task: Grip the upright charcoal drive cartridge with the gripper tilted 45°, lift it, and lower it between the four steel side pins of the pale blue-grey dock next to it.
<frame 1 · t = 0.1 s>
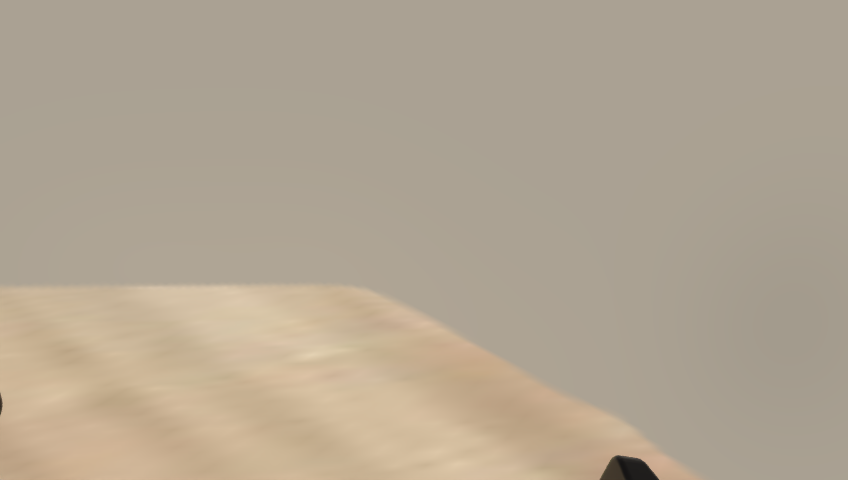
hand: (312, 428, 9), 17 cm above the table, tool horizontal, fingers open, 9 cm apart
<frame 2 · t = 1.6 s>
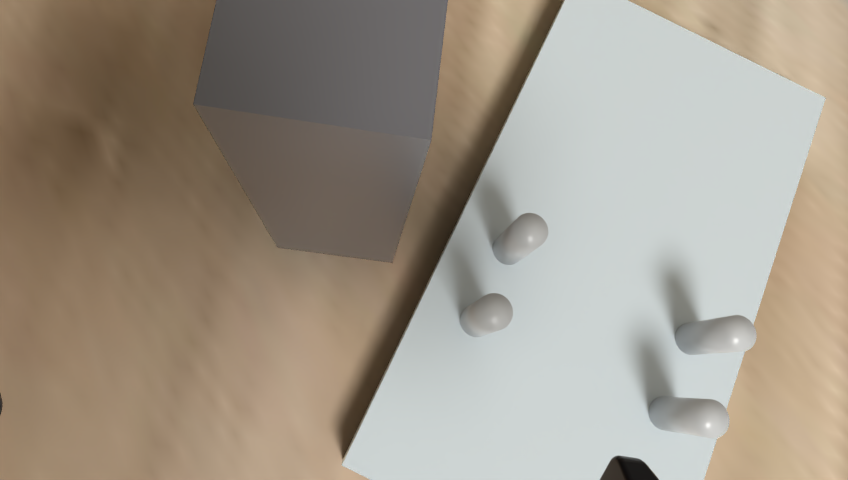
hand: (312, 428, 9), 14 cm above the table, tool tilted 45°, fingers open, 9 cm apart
pin dock: (570, 332, 24), on the table
drive cartridge: (345, 188, 24), on the table
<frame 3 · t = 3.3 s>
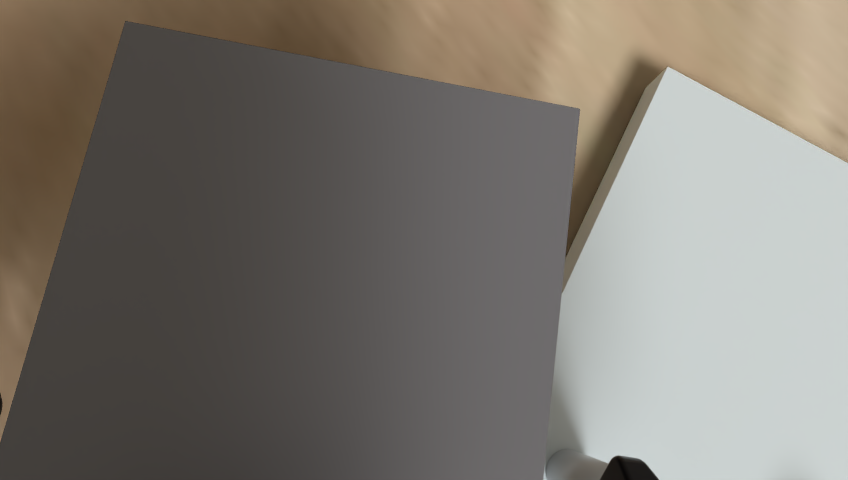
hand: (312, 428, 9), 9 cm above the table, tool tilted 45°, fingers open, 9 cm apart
drive cartridge: (340, 361, 17), on the table
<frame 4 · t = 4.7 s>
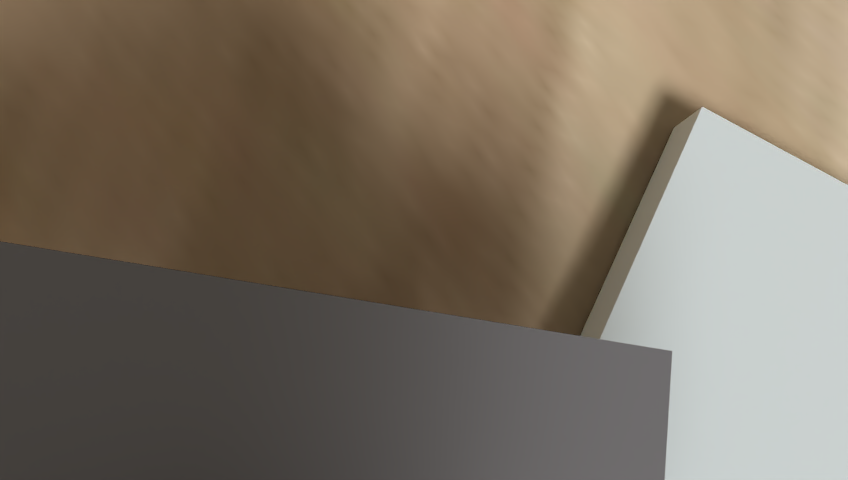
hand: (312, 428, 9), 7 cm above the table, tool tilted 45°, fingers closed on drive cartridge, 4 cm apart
drive cartridge: (321, 457, 15), on the table, touching gripper
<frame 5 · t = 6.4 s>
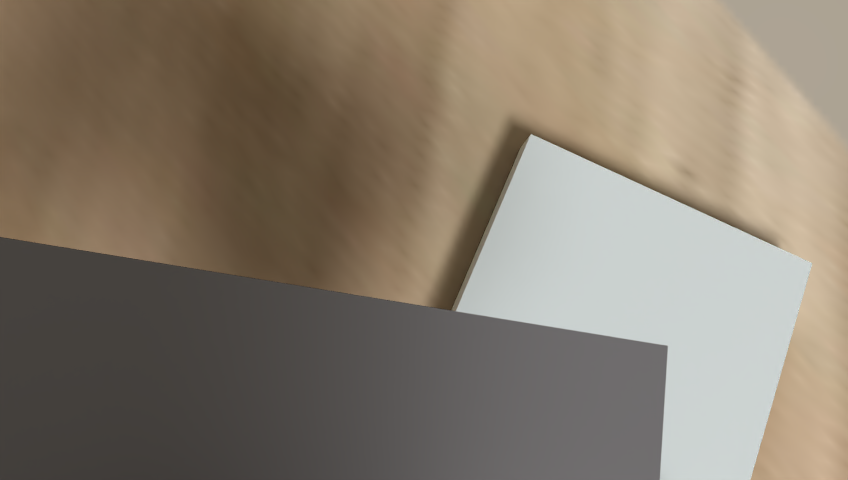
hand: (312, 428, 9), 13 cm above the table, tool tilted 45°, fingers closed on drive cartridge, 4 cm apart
drive cartridge: (320, 456, 15), point 7 cm above the table, touching gripper
when the fingers open (9 cm above the table, at t = 8.4 s): drive cartridge drops 1 cm, resting on pin dock.
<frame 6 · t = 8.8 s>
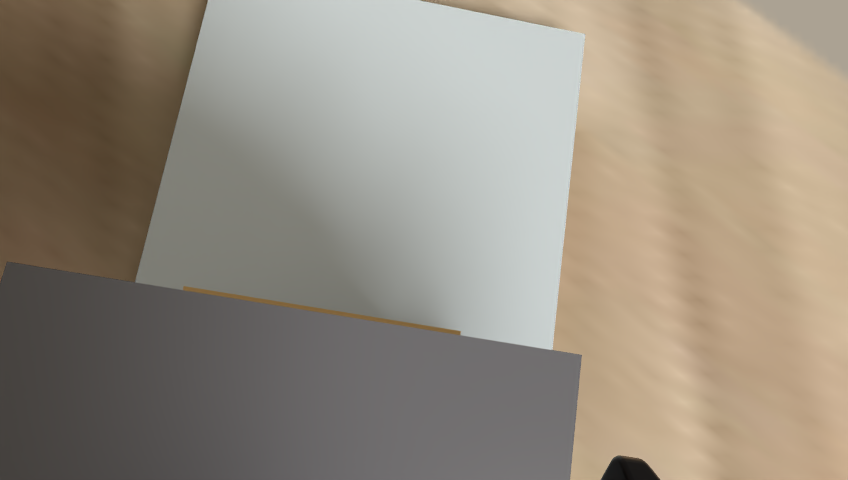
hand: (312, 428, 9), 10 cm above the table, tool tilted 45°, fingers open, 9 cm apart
pin dock: (328, 441, 18), on the table
drive cartridge: (324, 448, 16), point 1 cm above the table, touching pin dock
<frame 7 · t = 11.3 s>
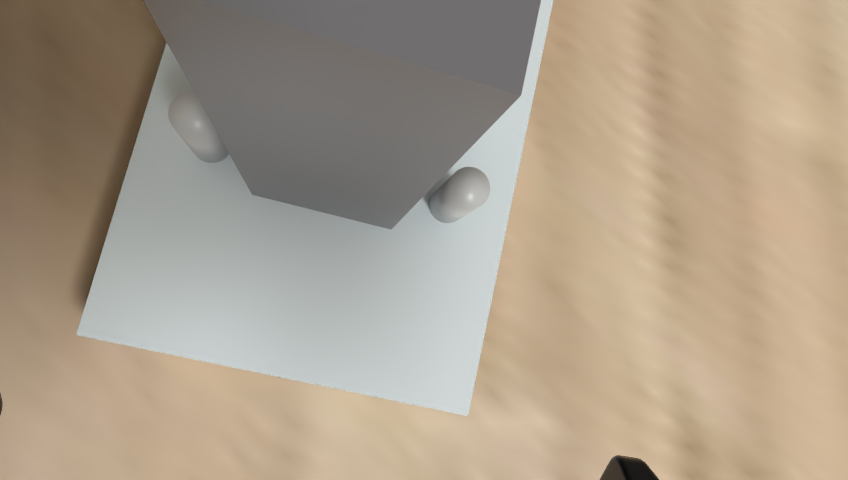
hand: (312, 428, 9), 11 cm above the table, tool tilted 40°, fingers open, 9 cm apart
pin dock: (341, 144, 21), on the table
drive cartridge: (343, 131, 19), point 1 cm above the table, touching pin dock
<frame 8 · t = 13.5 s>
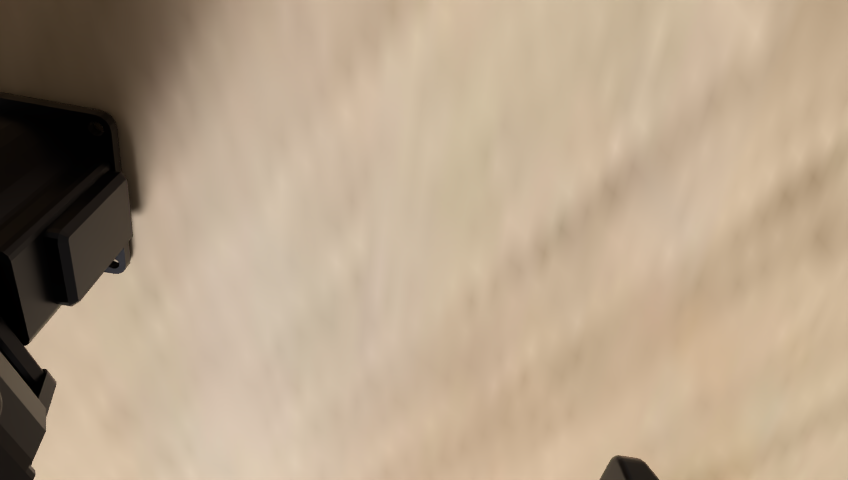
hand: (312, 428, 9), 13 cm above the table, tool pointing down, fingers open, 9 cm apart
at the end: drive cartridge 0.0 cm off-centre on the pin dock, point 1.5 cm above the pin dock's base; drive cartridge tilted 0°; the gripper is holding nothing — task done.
